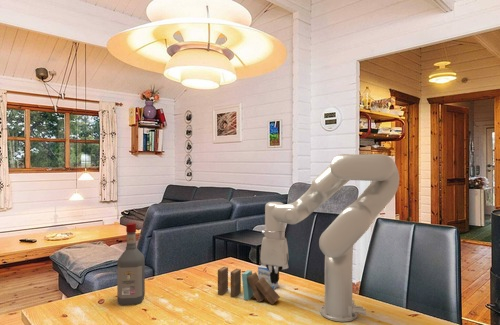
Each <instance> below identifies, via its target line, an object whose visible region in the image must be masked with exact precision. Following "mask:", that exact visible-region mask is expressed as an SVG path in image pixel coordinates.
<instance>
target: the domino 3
mask: <svg viewBox="0 0 500 325" xmlns="http://www.w3.org/2000/svg"><path fill="white" fill-rule="evenodd" d="M251 274H253V270H250V269H249V270H245V271H244V272H243V273H241V281H242V282H241V283H242V292H243V300H244V301H250V300H251V298H253V297H255V295H254V293H253V291H252V288H251V286H250V284H249V282H248V279H247V277H248V276H250V275H251Z"/></svg>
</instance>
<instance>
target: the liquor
mask: <svg viewBox="0 0 500 325" xmlns="http://www.w3.org/2000/svg"><path fill="white" fill-rule="evenodd" d="M125 225H126V226H125V227H126V228H125V230H126V247H125V250H124V251H123V252H122V254H121V255H120V256H119V258H118V260H117V262H116V263H117V264H116V267H117V272H116V274H117V282H116V284H117V285H116V288H117V290H116V292H117V304H118V305H120V306H122V307H123V306H137V305H139V304H141V303H143V301H144V297H145V295H146V294H145V293H146V288H145V287H146V284H145V282H146V281H145V280H146V279H145V277H146V275H145V274H146V270H145V269H146V268H145V266H146V265H145V264H146V263H145V262H146V260H145V255H144V254H143V252H142V251H140V250H139V248H138V247H137V244H136V243H137V242H136V241H137V240H136V232H137V223H135V222H130V223H126V224H125Z"/></svg>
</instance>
